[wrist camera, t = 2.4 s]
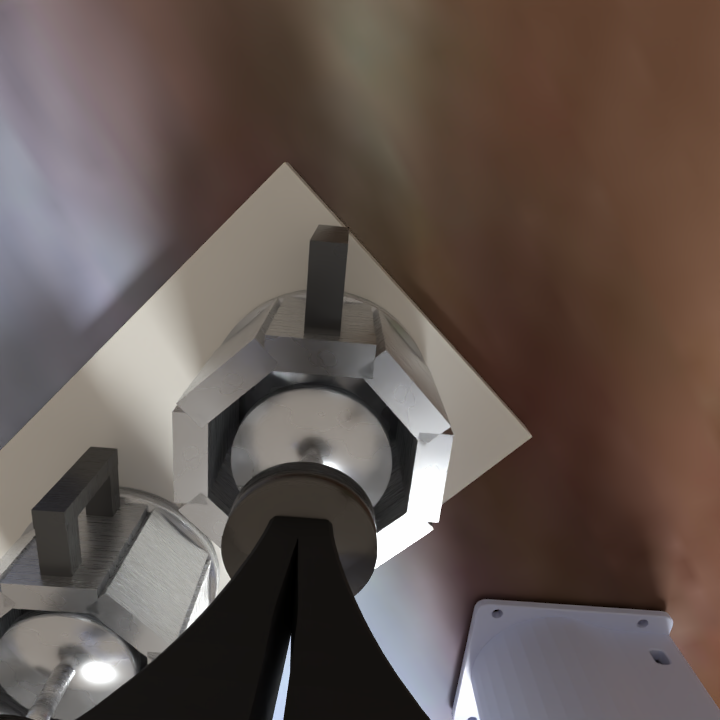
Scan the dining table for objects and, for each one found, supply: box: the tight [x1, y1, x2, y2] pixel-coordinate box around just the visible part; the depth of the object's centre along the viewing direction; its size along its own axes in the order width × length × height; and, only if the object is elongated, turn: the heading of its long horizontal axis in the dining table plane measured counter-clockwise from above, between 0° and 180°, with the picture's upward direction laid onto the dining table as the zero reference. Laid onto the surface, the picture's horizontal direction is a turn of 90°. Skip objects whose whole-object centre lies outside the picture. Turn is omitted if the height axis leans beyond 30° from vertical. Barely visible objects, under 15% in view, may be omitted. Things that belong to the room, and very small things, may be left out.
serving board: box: [0, 162, 532, 597], centre depth 23 cm, size 22×14×1 cm, turn 132°
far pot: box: [0, 447, 220, 720], centre depth 21 cm, size 8×11×5 cm
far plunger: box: [0, 610, 141, 720], centre depth 17 cm, size 5×5×4 cm
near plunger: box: [221, 382, 392, 596], centre depth 15 cm, size 5×5×4 cm
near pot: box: [172, 224, 454, 568], centre depth 18 cm, size 8×11×5 cm
